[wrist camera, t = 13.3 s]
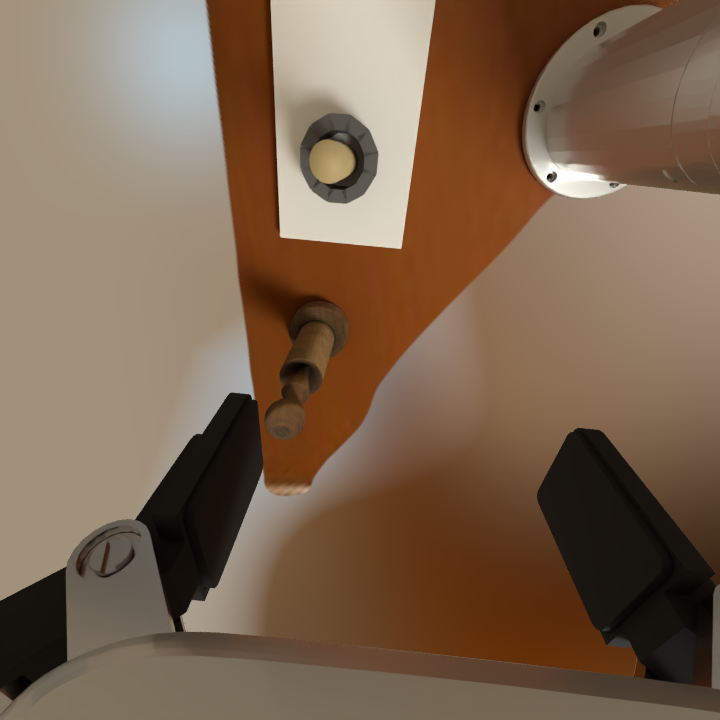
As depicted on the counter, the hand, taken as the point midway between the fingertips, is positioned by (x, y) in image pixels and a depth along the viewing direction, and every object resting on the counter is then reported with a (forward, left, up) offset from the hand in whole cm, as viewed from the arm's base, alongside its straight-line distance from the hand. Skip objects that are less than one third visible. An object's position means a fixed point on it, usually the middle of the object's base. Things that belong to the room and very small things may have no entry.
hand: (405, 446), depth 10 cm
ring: (+5, -7, -27) cm, 28 cm away
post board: (+5, -12, -28) cm, 31 cm away
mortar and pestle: (+7, +10, -28) cm, 31 cm away
